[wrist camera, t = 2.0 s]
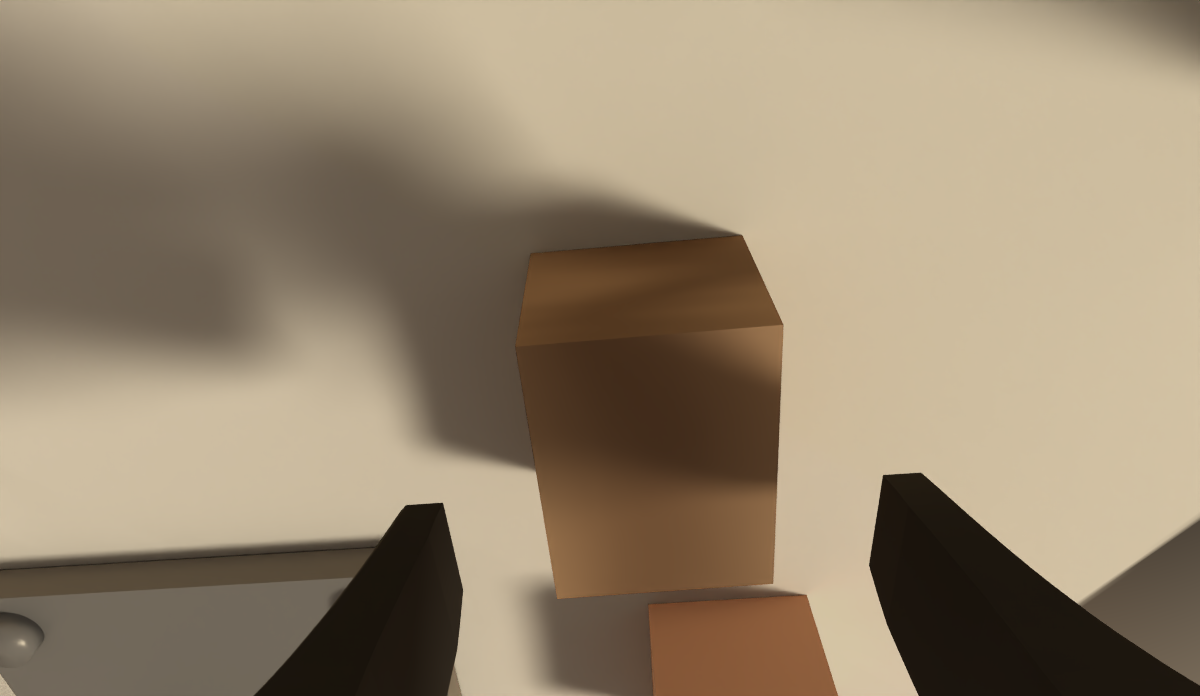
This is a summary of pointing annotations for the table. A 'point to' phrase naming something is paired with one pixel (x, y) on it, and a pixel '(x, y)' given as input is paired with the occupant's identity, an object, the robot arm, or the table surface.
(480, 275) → the table surface
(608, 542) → the walnut brick
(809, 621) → the terracotta block
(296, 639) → the base plate
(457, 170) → the table surface
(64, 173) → the table surface
